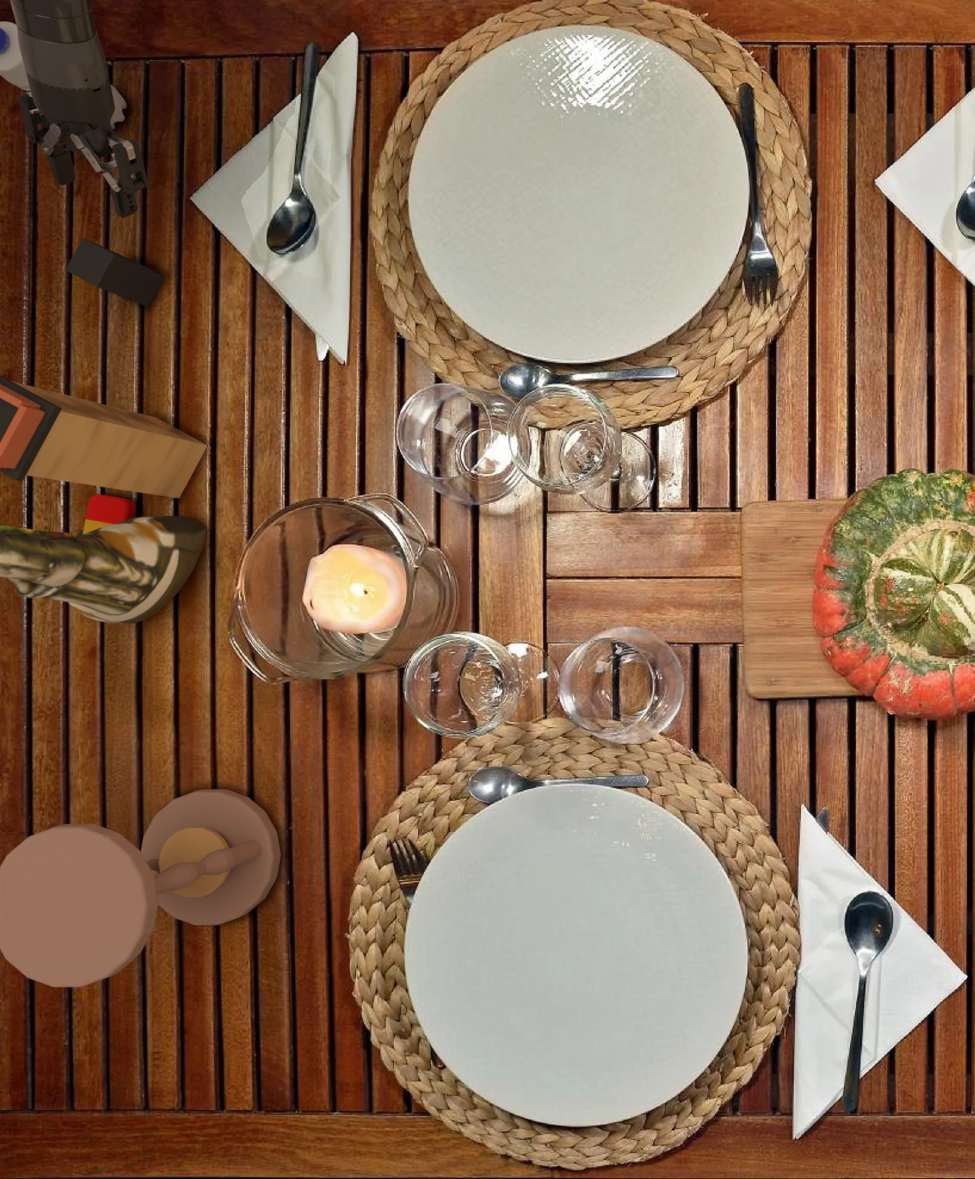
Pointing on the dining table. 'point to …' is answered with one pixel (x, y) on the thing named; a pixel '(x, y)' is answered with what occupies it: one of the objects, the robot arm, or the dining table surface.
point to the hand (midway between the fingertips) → (96, 198)
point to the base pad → (22, 427)
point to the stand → (114, 448)
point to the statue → (105, 565)
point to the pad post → (114, 273)
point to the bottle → (7, 61)
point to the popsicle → (107, 511)
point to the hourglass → (131, 885)
